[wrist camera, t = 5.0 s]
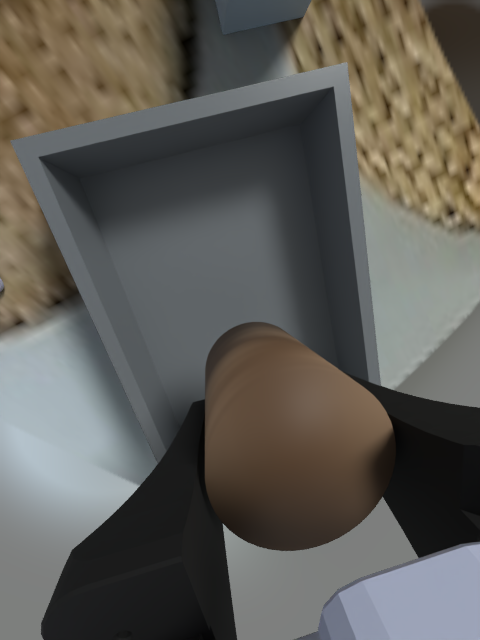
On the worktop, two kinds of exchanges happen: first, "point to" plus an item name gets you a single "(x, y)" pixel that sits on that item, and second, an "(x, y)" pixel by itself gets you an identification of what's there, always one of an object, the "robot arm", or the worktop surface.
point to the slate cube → (257, 13)
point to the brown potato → (290, 441)
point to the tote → (212, 232)
